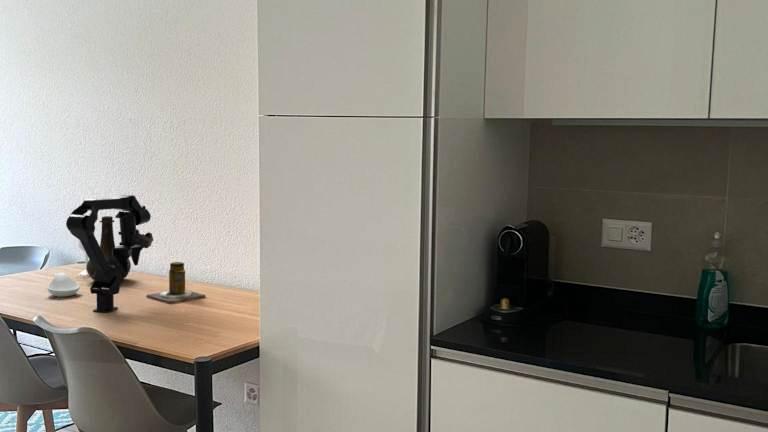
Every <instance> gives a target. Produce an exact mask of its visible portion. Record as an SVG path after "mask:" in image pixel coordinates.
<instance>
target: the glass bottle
mask: <svg viewBox="0 0 768 432" xmlns="http://www.w3.org/2000/svg"><path fill="white" fill-rule="evenodd" d="M113 219H114V216H109V215H107V216H104V215H103V216H102V217H101V220H99V223H101V233H100V234H101V235H100V244H99V246H100V248H101V250H102V252H103V254H104V256H105V258H106V260H107V262H108V264H109V266H116V267H117V268H118V271H119V273H120V274H121V275H120V277H121V281H123V280H124V279H126V277H127V276H128V275H129V273H130V271H131V267H132V265H131V264H132V263H131V261H130V259H129V267H128V272H125V271H124V269H123V268H122V266H121V264H120V263H119V261H118V260H117V259H116V257H114V256H113V255H112V249H113V248H115V247H116V245H115V244H116V243H115V238H114V235H115V234H114V225H113V223H115V220H113ZM87 272H88V274H89V275H88V276H89V277H90V278H91V279H92V280H93V282H94V281H95V279H94V274H95V269H94V267H93V265H92V263H91V261H90V259H89V258H88V263H87Z"/></svg>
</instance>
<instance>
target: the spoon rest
mask: <svg viewBox="0 0 768 432" xmlns="http://www.w3.org/2000/svg"><path fill="white" fill-rule="evenodd" d="M80 288H81V285H80V284H79V283H78V282H77V281H76V280H74V279H73V278H71V277H70V276H69V275H68V274H66V273H65V272H61V273H56V272H55V273H54V275H53V278H52V279H51V281H50V282H49V283H48V285H47V291H48V292H49V294H51V295H52V296H54V297H56V296H57V297H58V298H68V297H71V296H73V295H75V294H77V292H79V290H80ZM67 296H68V297H67ZM57 297H56V298H57Z"/></svg>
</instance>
